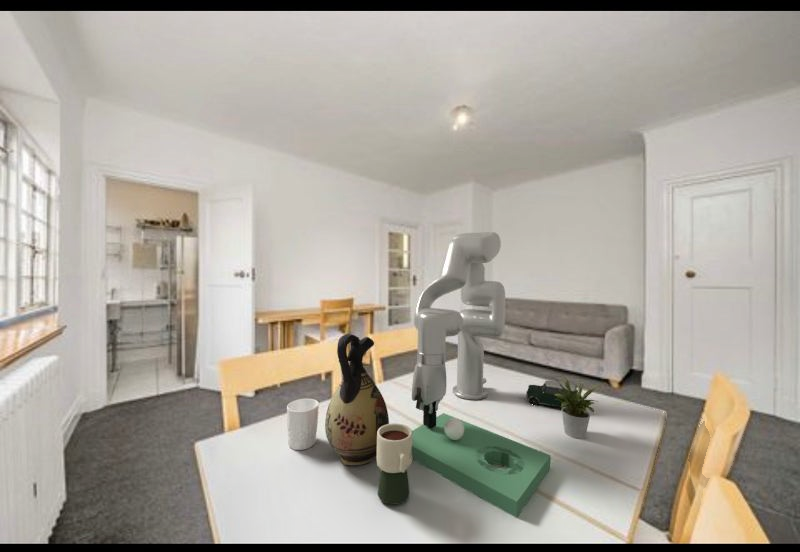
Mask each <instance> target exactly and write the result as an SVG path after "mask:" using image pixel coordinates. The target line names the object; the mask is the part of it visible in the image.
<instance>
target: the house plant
mask: <svg viewBox="0 0 800 552" xmlns="http://www.w3.org/2000/svg"><path fill="white" fill-rule="evenodd" d="M547 376H548V377H550V375H548V374H547ZM552 378H553V379H554V380H555V381H558V382H559V384H560V382H561V381H559V380H558V379H557V378H556V377H554V376H552ZM580 378H581V377H578V379H577V381H576V383H575V387H576V388H575V392H573V394H572V391H571V388H570V385H569V384H570V383H569V382H570V381H569V380H568V379H567V378H566V377H565V376H563V377H561V379H562V382H564V383H565V386H566V387H567V389H568V391H567V390H566V389H565V388H564V387H563V386H562V385H561V384H560V386H561V387H562V388H563V390H564V392H565V393H566V395H567V397H568V399H569V401H570V403H569V402H568V400H567V398H566V397H565V395H564V393H563V392H562V391H561V389H559V388H558V387H557V388H558V389H559V390H560V391H561V392H562V394H563V396H562V395H561V394H555V396H558V397H557V398H560V399H563V400H564V401H565V402H562V401H561V402H562V404H561V407H560V408H561V415H562V421H563V423H562V424H563V430H564V433H565V434H566V435H567V436H569V437H570V438H573V439H579V440H582V439H583V440H584V439H585V438H586V436H587V431H588V427H589V423H590V418H591V414H590V413H589V412H588V411H587V409H588V410H590V412H591V413H592V414H593V415H595V414H594V413H595V409H594V408H593V407H592V406H591V405H594V404H598V403H599V401H598V400H596V402H597V403H596V402H595V400H593V399H587V397H589V395H591V394H592V393H594V392H595V390H596V389H597V388H598V387H601V386H602V384H599V385H595V386H592V387H590V389H588V390H586V392H584V394H583V395H582V393H583V389H584V388H583V386H585V385H586V383H584V384H583V381H582V380H581V382H580V384H579V388H578V383H579V381H580ZM555 385H558V384H555ZM551 387H554V386H551ZM577 388H578V389H577ZM576 389H577V392H576ZM568 392H569V393H568ZM580 396H582V399H581V400H580ZM556 400H558V399H556ZM579 400H580V401H579ZM578 402H579V403H578ZM566 405H567V406H568V407H567V406H566ZM563 406H566V407H563ZM562 407H563V408H562Z"/></svg>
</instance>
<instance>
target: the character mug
mask: <svg viewBox="0 0 800 552" xmlns="http://www.w3.org/2000/svg"><path fill="white" fill-rule="evenodd" d="M412 431H413V430H412V429H411V428H410V427H409V426H407V425H405V424H401V423H389V424H387V425H383V426H382V427H380V428H379V429H378V431H377V457H376V466H377V467H378V468H379V470H380V475H379V480H378V487H377V488H378V489H377V496H378V499H379V500H380V501H382V502H383V503H384V504H390V505H394V504H402V503H406V501H407V500H408V499H409V497H410V496H409V495H410V486H409V485H410V483H409V478H408V477H409V475H408V468H409V467H410V466H411V465H412V461H413V459H412V444H413V443H412Z"/></svg>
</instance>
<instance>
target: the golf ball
mask: <svg viewBox="0 0 800 552" xmlns="http://www.w3.org/2000/svg"><path fill="white" fill-rule="evenodd" d="M456 418H457V417H455V418H451V419H449V420H447V421H446V423H445V425H444V431H445V434H446V436H447V437H448V438H450V439H451V440H458V439H460V438H461V437H462V436H463V434H464V426H463V424H462V422H461V421H460V420H461V419H460V420H458V419H459V418H457V419H456Z"/></svg>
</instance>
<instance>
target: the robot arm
mask: <svg viewBox="0 0 800 552" xmlns="http://www.w3.org/2000/svg"><path fill="white" fill-rule="evenodd" d="M501 242H502V241H501V236H500V235H499V234H498V233H496V232H494V231H489V232H488V231H486V232H465V233H459V234H456V235H454V236H453V237H452V239H451V240H450V241H449V242H448V245H447V247H446V251H445V254H444V258H443V262H442V265H441V270H440V273H439V276H438V277H436V279H434V280H433V281H431V283H429V285H428V286H427V287H426V288H425V289H424V290H423V291H422V293H421V294H420V296H419V297H418V300H417V305H416V307H415V311H414V316H413V324H414V327H415V329H416V330H417V352H416V353H417V357H416V364H415V365H414V366H415V367H414V370H413V376H412V384H411V387H412V388H411V399H412V401H413V402H414V401H415V403H416V404H415V409H416V410H419V411H422V412H423V416H422V417H423V418H422V419H423V420H422V425H423V424H424V425H425V426H427V427H429V428H434V427H435V426H436V417H437V411H438V410H439V404H440V402H441V401H442V400H443V399H444V397H445V396H446V394H447V369H446V339H447V338H448V337H455V336H457V364H456V365H457V368H456V369H457V370H456V371H457V372H456V385H454V386H453V387H452V393H453V395H455V396H456V397H459V398H460V399H461V398H462V399H466V400H476V401H477V400H482V399H484V398H486V397H487V396H488V391H487V389H485V388H484V384H486V383H487V382H488V380H487V379H486V378H485V377H484V358H485V357H484V356H485V353H484V352H485V349H484V344H483V343H482V340H481V339H480V338H479V337H485V338H495V339H496V338H500V337H502V336H503V334H504V332H505V322H506V320H505V319H506V291H505V286H504V285H503V283H502V282H500V281H496V280H495V281H494V280H486V279H485V274H486V273H485V270H486V269H485V265H484V264H488V263H490V262H492V260H494V258H495V257H497V256H498V255H499V253H500V251H501V247H502V244H501ZM459 289H460V298H461V302H462V303H463V305H466V306H472V307H474V306H475V307H484V308H486V307H487V308H489V309H490V310H486V309H485V310H484V309H474V308H472V309H471V308H467V309H466V308H465V309H461V310H459V311H458V310H454V309H448V308H447V309H446V308H434V307H432V305H433V304H434V303H435V301H436V300H437V299H439V298H441V297H443V296H445V295H447V294H450V293H452V292H454V291H457V290H459Z"/></svg>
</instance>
